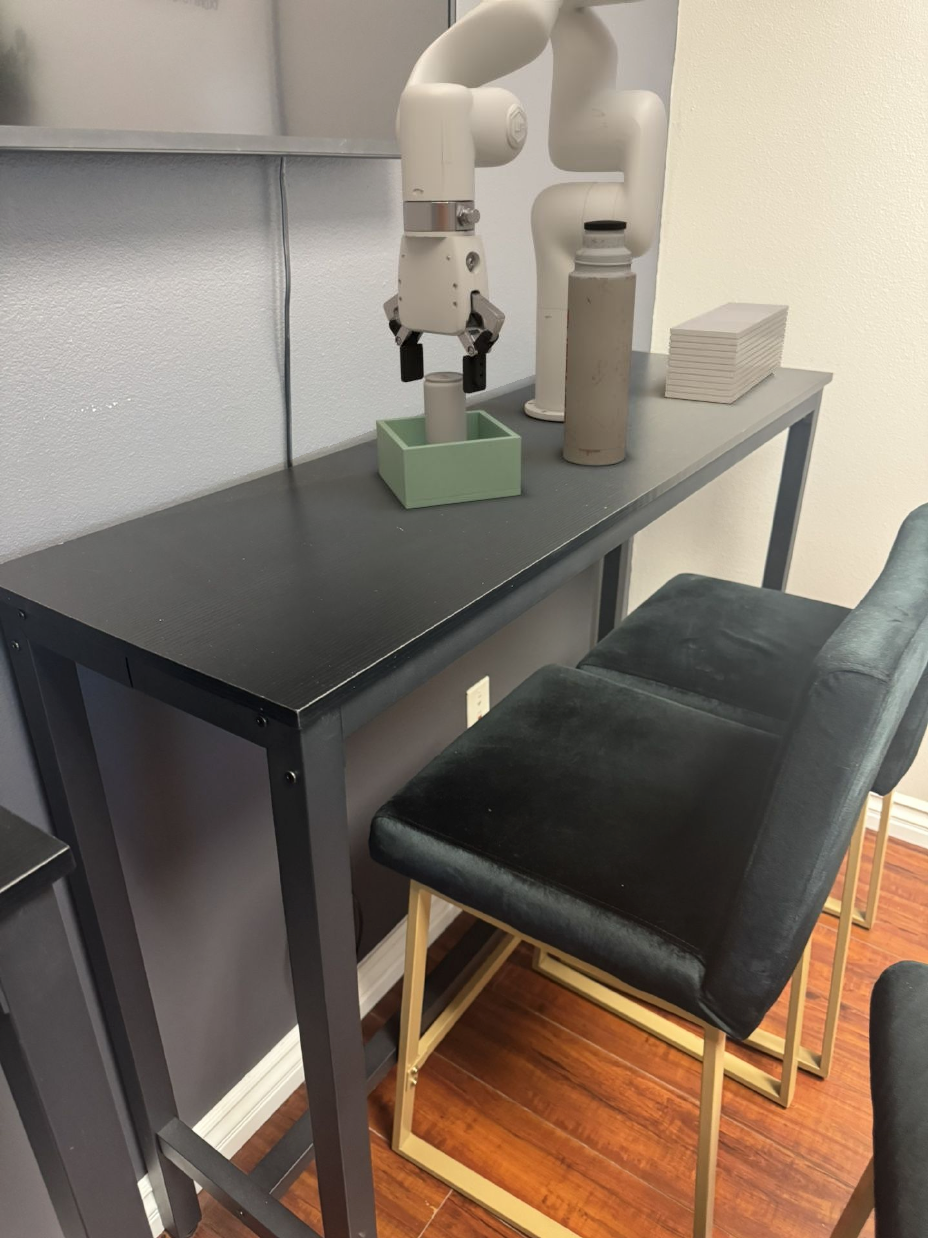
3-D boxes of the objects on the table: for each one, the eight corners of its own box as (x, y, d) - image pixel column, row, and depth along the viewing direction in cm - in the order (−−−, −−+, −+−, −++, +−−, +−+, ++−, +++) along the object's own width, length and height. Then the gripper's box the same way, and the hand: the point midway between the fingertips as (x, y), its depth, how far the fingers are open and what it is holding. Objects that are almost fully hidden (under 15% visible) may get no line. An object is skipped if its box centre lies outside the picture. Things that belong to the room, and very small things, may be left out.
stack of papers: (730, 403, 140) (738, 332, 135) (664, 397, 145) (670, 327, 140) (780, 366, 164) (788, 305, 159) (722, 361, 169) (729, 302, 164)
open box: (379, 474, 111) (375, 419, 108) (483, 462, 115) (482, 409, 112) (406, 509, 100) (403, 449, 96) (520, 495, 103) (521, 436, 100)
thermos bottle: (552, 460, 115) (558, 221, 102) (577, 445, 121) (586, 218, 108) (611, 469, 111) (625, 222, 99) (634, 452, 117) (649, 218, 105)
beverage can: (432, 485, 104) (428, 381, 99) (422, 473, 108) (418, 372, 103) (472, 481, 105) (470, 378, 100) (461, 470, 109) (459, 369, 104)
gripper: (525, 220, 91) (523, 390, 99) (407, 218, 102) (412, 372, 109) (476, 223, 86) (477, 401, 94) (357, 220, 97) (366, 381, 104)
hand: (442, 385), depth 101 cm, fingers open, 9 cm apart
